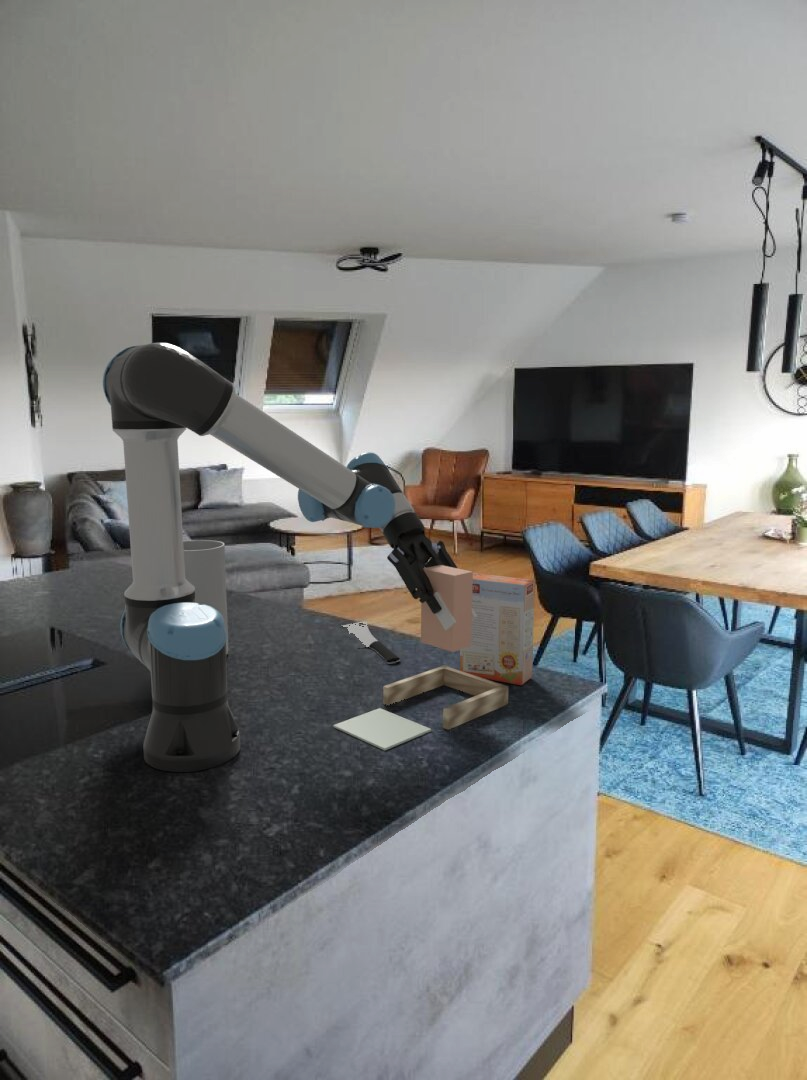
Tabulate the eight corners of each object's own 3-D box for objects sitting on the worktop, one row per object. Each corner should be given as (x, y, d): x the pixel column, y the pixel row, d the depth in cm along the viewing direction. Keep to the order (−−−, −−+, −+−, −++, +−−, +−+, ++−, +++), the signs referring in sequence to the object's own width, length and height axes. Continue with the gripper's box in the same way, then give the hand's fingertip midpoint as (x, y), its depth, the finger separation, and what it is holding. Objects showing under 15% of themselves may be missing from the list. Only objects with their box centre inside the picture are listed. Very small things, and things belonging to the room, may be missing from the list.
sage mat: (384, 750, 129) (384, 748, 129) (333, 727, 138) (333, 725, 138) (431, 731, 137) (431, 728, 137) (379, 710, 146) (379, 708, 146)
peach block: (452, 652, 142) (454, 575, 140) (420, 642, 148) (421, 568, 145) (470, 646, 146) (472, 571, 143) (438, 636, 151) (440, 564, 149)
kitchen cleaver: (326, 625, 198) (364, 617, 201) (327, 632, 198) (365, 624, 201) (362, 665, 169) (406, 655, 172) (363, 673, 169) (407, 663, 172)
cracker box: (533, 678, 163) (536, 578, 159) (521, 687, 158) (525, 584, 154) (471, 666, 170) (473, 570, 166) (458, 674, 165) (460, 576, 161)
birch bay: (448, 729, 137) (448, 710, 137) (383, 703, 149) (383, 686, 148) (507, 704, 149) (508, 686, 148) (443, 682, 160) (443, 665, 160)
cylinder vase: (185, 669, 167) (179, 553, 163) (161, 654, 177) (155, 544, 173) (238, 657, 175) (234, 546, 171) (212, 643, 185) (208, 538, 180)
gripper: (421, 529, 160) (481, 624, 152) (354, 539, 148) (415, 644, 139) (441, 506, 156) (504, 603, 147) (373, 514, 143) (438, 621, 135)
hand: (461, 622), depth 143 cm, fingers closed on peach block, 5 cm apart
